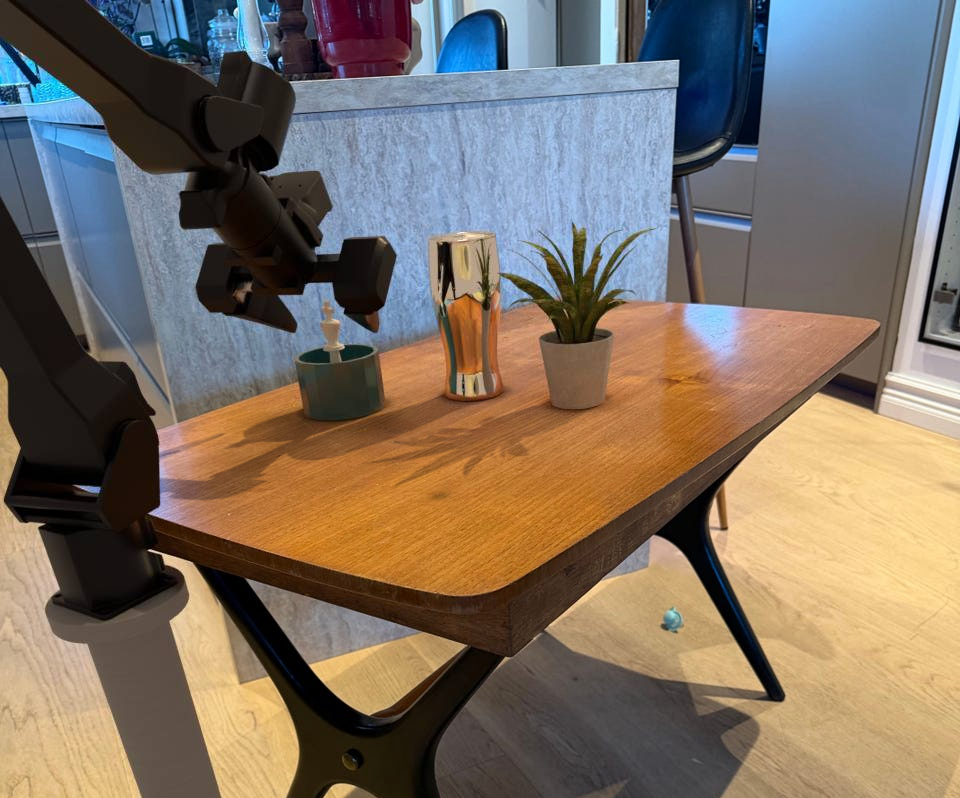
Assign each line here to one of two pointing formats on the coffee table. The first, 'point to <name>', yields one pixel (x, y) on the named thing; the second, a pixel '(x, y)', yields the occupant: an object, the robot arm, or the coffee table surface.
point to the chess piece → (331, 333)
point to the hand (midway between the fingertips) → (335, 328)
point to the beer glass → (467, 311)
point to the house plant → (575, 322)
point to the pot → (340, 383)
